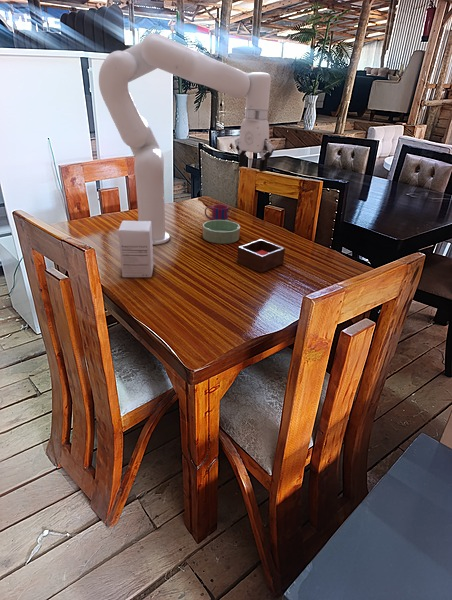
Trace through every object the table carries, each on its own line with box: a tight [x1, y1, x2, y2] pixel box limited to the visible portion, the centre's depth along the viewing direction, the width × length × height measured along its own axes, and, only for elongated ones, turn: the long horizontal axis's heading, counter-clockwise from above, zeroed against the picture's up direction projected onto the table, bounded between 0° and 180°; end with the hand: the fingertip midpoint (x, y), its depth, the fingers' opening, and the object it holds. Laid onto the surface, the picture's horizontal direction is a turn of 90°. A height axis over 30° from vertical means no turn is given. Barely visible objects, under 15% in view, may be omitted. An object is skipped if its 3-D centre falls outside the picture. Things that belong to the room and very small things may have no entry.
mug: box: [204, 204, 230, 221], centre depth 168 cm, size 7×10×7 cm
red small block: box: [255, 250, 269, 255], centre depth 133 cm, size 5×3×3 cm
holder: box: [236, 238, 286, 274], centre depth 133 cm, size 12×11×6 cm
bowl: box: [201, 219, 241, 245], centre depth 153 cm, size 14×14×4 cm
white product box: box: [117, 220, 154, 278], centre depth 120 cm, size 9×9×15 cm
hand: (252, 168), depth 140 cm, fingers open, 9 cm apart
